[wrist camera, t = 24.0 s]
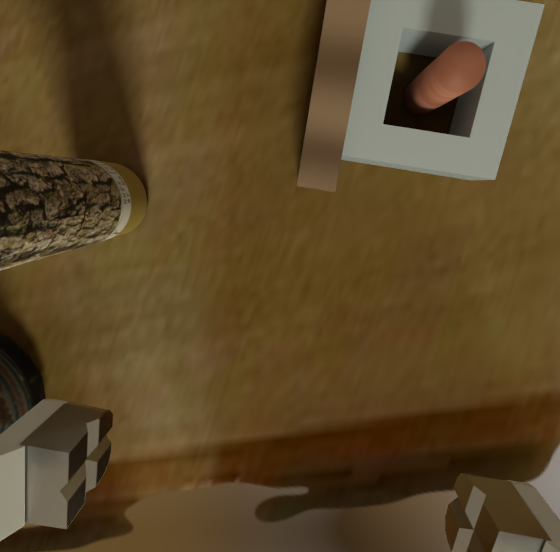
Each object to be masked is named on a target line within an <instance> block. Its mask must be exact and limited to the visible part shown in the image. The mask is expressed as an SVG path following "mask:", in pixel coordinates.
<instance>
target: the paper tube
mask: <svg viewBox="0 0 560 552" xmlns="http://www.w3.org/2000/svg"><path fill="white" fill-rule="evenodd" d="M146 209H147V196H146V191H145V188H144V186H143V184H142V182H141V181H140V179H139V178H138V177H137V175H136V174H135V173H134V172H132V171H131V170H130V169H128V168H127V167H125V166H123V165H121V164H118V163H113V162H104V161H95V160H87V159H77V158H68V157H58V156H48V155H38V154H28V153H19V152H9V151H0V271H1V270H4V269H8V268H11V267H15V266H18V265H22V264H25V263H28V262H32V261H35V260H39V259H42V258H45V257H49V256H52V255H56V254H59V253H63V252H66V251H69V250H73V249H76V248H80V247H83V246H86V245H90V244H93V243H97V242H100V241H104V240H107V239H110V238H113V237H116V236H120V235H123V234H126V233H128V232H130V231H132V230H134V229H135V228H136V227H137V226H138V225H139V224H140V223H141V222H142V220H143V218H144V216H145V213H146Z"/></svg>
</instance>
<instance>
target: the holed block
mask: <svg viewBox="0 0 560 552" xmlns="http://www.w3.org/2000/svg"><path fill="white" fill-rule="evenodd" d="M543 9H544V4H538V3H531V2H524V1H517V0H371V3H370V8H369V14H368V19H367V24H366V30H365V35H364V40H363V46H362V51H361V56H360V62H359V67H358V72H357V78H356V83H355V88H354V94H353V99H352V104H351V110H350V115H349V120H348V126H347V131H346V136H345V142H344V147H343V152H342V158H341V160H347V161H353V162H359V163H365V164H372V165H378V166H384V167H390V168H397V169H403V170H409V171H415V172H422V173H428V174H434V175H440V176H446V177H453V178H459V179H465V180H495V178H496V175H497V171H498V168H499V164H500V161H501V157H502V154H503V150H504V146H505V143H506V139H507V136H508V132H509V129H510V125H511V122H512V118H513V115H514V111H515V108H516V104H517V101H518V97H519V93H520V90H521V86H522V83H523V79H524V76H525V72H526V69H527V65H528V62H529V58H530V55H531V51H532V48H533V44H534V40H535V37H536V33H537V30H538V26H539V23H540V19H541V16H542V12H543ZM460 41H469V42H472V43H475V44H476V45H478V46H479V47H480V48H481V50H482V51H483V53H484V55H485V59H486V68H485V72H484V75H483V77H482V79H481V81H480V82H479V83H478V84H477V85H476V86H475V87H474V88H472V89H471V90H469V91H467V92H465V93H463V94H462V95H460V96H458V99H457V103H456V107H455V111H454V115H453V119H452V123H451V127H450V131H449V134H443V133H437V132H430V131H424V130H418V129H411V128H405V127H399V126H392V125H386V124H383V122H384V117H385V112H386V107H387V103H388V98H389V93H390V88H391V83H392V79H393V74H394V69H395V64H396V59H397V54H398V52H404V53H410V54H417V55H423V56H430V57H436V58H437V57H438V56H439V55H440V54H441V53H442V52H444V51H445V50H446V49H447V48H448V47H449V46H451V45H452V44H454V43H456V42H460Z"/></svg>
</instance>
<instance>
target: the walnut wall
mask: <svg viewBox="0 0 560 552" xmlns="http://www.w3.org/2000/svg"><path fill="white" fill-rule="evenodd" d="M370 3H371V0H327V3H326V9H325V15H324V21H323V27H322V33H321V39H320V46H319V52H318V58H317V64H316V70H315V76H314V82H313V88H312V95H311V101H310V107H309V113H308V119H307V125H306V131H305V137H304V144H303V150H302V156H301V162H300V168H299V174H298V180H297V186H300V187H307V188H313V189H319V190H325V191H331V192H335V190H336V184H337V179H338V174H339V168H340V163H341V158H342V152H343V147H344V142H345V136H346V131H347V126H348V120H349V115H350V110H351V104H352V99H353V94H354V88H355V83H356V78H357V72H358V67H359V62H360V56H361V51H362V46H363V40H364V35H365V30H366V24H367V19H368V14H369V8H370Z"/></svg>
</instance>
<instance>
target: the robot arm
mask: <svg viewBox="0 0 560 552" xmlns="http://www.w3.org/2000/svg"><path fill="white" fill-rule="evenodd" d="M112 420H113V414H112V412H111V411H110V410H107V409H102V408H97V407H92V406H87V405H82V404H77V403H72V402H67V401H61V400H56V399H50V398H48V399H43V400H42V401H40V402H39V403H38V404H37V405H36V406H34V407H33V408H32V409H31V410H29V411H28V412H27V413H26V414H25V415H23V416H22V417H21V418H20V419H18V420H17V421H16V422H15V423H14V424H12V425H11V426H10V427H9V428H7V429H6V430H5V431H4V432H3V433H1V434H0V541H1V540H3V539H4V538H6V537H7V536H9V535H10V534H12V533H14V532H15V531H17V530H18V529H20V528H21V527H23V526H24V525H25V523H30V524H37V525H43V526H50V527H56V528H63V529H67V528H68V526H69V525H70V523H71V522H72V520H73V519H74V518H75V516H76V515H77V513H78V512H79V510H80V509H81V508H82V506H83V505H84V503H85V492H87V491H89V490H91V489H93V488H94V487H96V486H97V484H98V483H99V481H100V480H101V478H102V477H103V474H104V472H105V470H106V467H107V465H108V462H109V457H110V453H111V442H110V440H109V439H108V437H107V435H106V434H107V433H108V431H109V430H110V429H111V428H112ZM454 489H455V491H456V493H457V495H458V498H456V499H455V500H454V501H452V502H451V503H450V504H449V505H448V509H447V513H446V517H445V522H446V523H445V531H446V535H447V540H448V543H449V546H450V549H451V551H452V552H560V520H559V518H558V517H557V516H556V514H555V513H554V512H553V510H552V509H551V508H550V507H549V505H548V504H547V503H546V501H545V500H544V499H543V497H542V496H541V495H540V493H539V492H538V491H537V489H536V488H535V487H533V486H532V485H530V484H529V483H523V482H516V481H509V480H505V481H504V480H498V479H493V478H487V477H481V476H475V475H469V474H463V473H461V474H460V475H459V477H458V478H457V480H456V483H455V486H454Z"/></svg>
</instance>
